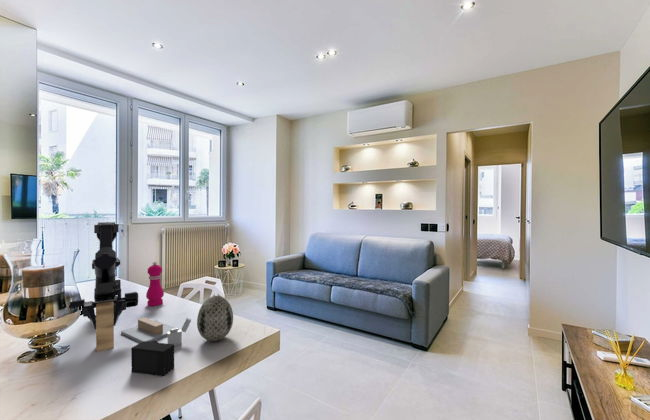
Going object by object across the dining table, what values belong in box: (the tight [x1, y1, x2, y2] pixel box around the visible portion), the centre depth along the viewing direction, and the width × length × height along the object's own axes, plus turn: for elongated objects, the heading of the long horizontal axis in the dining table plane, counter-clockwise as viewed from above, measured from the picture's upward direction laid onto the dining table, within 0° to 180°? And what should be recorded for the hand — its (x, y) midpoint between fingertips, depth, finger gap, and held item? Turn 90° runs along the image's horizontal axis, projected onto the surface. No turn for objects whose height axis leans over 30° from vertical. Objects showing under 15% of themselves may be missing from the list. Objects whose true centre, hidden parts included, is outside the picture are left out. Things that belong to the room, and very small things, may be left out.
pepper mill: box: [145, 261, 165, 307], centre depth 138 cm, size 7×7×20 cm
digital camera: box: [130, 340, 175, 377], centre depth 83 cm, size 10×5×7 cm, turn 78°
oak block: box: [95, 301, 115, 352], centre depth 96 cm, size 4×4×14 cm
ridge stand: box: [120, 317, 180, 343], centre depth 107 cm, size 16×12×4 cm
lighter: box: [167, 317, 192, 347], centre depth 99 cm, size 7×2×8 cm, turn 119°
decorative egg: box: [196, 295, 234, 342], centre depth 101 cm, size 12×12×15 cm
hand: (105, 327), depth 95 cm, fingers closed on oak block, 4 cm apart
